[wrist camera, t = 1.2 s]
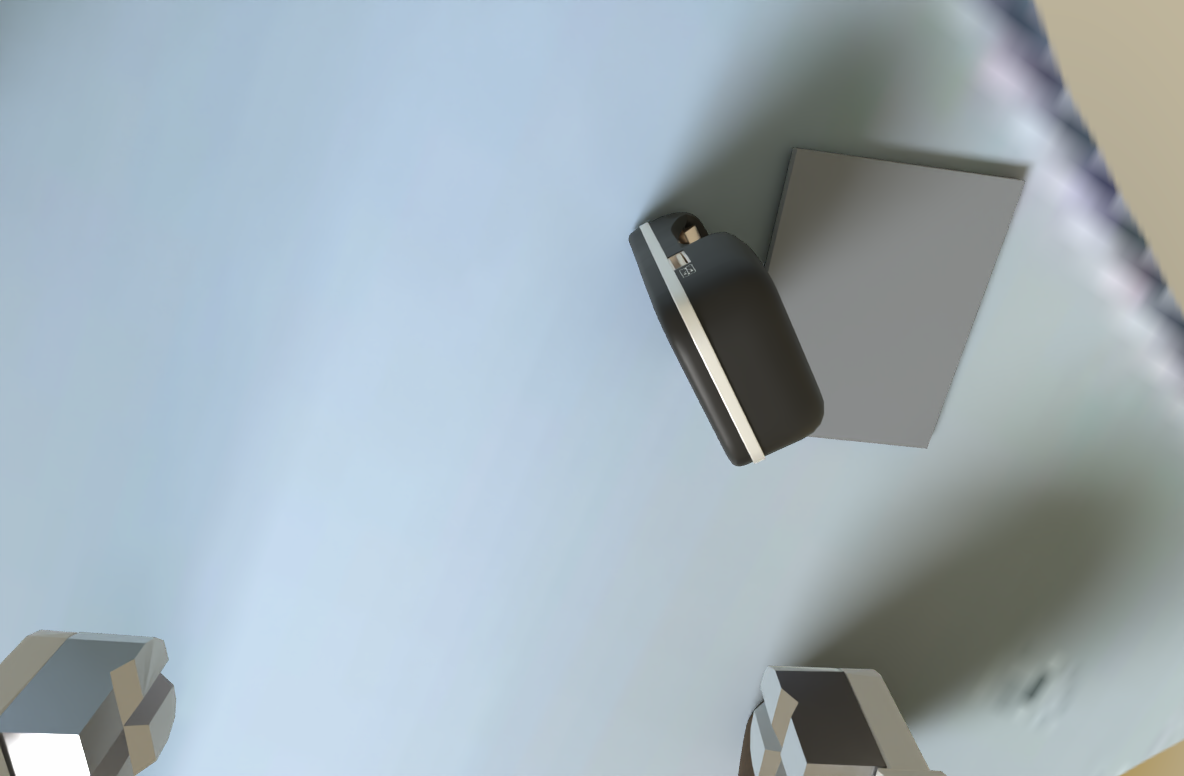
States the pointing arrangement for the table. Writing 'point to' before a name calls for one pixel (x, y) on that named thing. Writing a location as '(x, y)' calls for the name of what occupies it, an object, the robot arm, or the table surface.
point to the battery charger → (729, 336)
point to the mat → (885, 283)
